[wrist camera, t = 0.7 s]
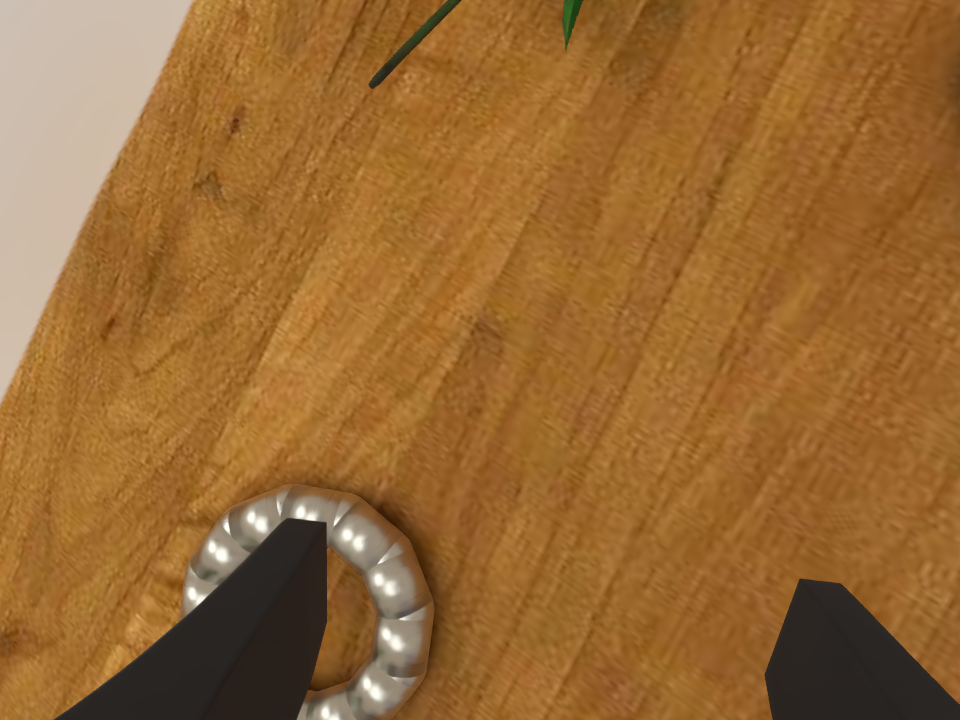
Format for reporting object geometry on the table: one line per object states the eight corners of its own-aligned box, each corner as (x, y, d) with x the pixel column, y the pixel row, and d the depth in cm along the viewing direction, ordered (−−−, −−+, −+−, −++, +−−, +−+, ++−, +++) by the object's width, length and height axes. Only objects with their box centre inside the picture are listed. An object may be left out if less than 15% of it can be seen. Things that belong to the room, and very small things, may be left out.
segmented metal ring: (419, 759, 33) (404, 790, 31) (185, 704, 35) (154, 728, 33) (454, 505, 33) (441, 516, 30) (216, 463, 35) (187, 471, 32)
